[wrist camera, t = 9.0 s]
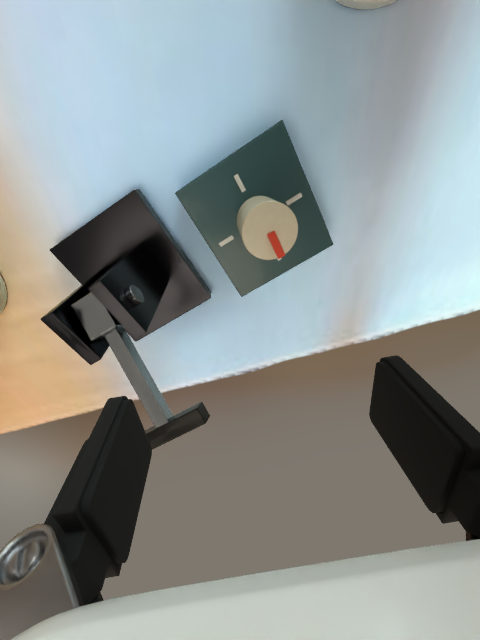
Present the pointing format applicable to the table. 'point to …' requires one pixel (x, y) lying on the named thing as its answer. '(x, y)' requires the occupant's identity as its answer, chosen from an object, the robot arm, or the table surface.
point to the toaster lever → (137, 374)
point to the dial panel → (244, 183)
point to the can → (2, 294)
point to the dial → (267, 227)
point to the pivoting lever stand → (125, 275)
